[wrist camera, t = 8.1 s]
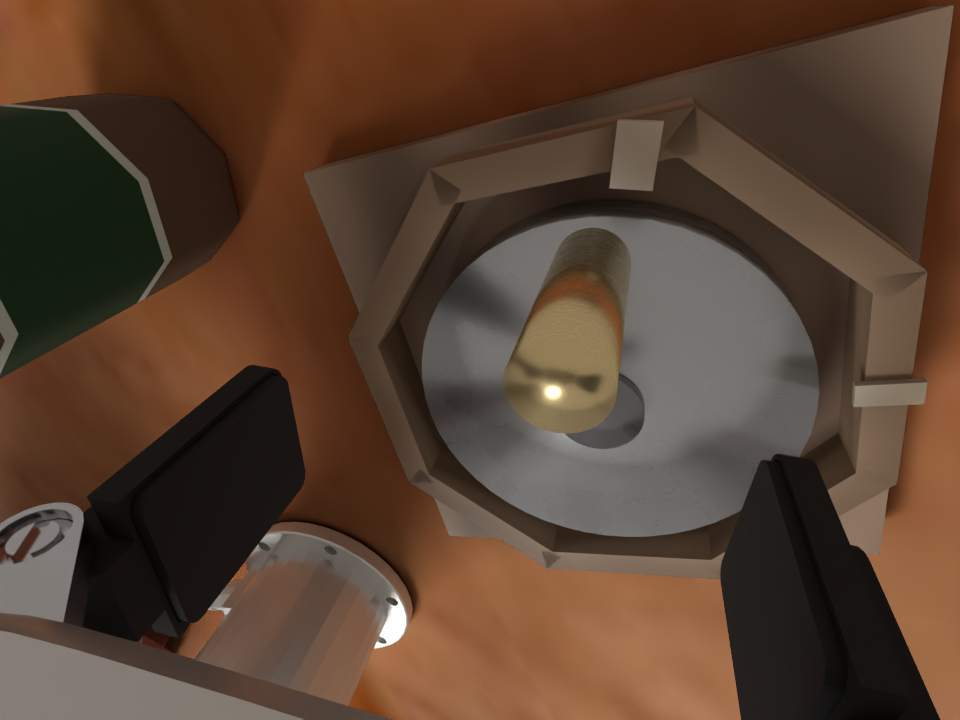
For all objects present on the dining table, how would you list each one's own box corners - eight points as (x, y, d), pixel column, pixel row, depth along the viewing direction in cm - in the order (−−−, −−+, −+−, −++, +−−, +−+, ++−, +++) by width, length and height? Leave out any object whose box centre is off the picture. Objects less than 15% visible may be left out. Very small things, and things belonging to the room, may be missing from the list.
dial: (779, 517, 23) (836, 754, 15) (468, 488, 27) (397, 663, 20) (838, 179, 16) (996, 321, 8) (406, 215, 20) (261, 329, 13)
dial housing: (457, 515, 31) (434, 572, 28) (322, 164, 22) (264, 190, 18) (868, 527, 24) (901, 606, 20) (929, 6, 14) (1006, 2, 11)
